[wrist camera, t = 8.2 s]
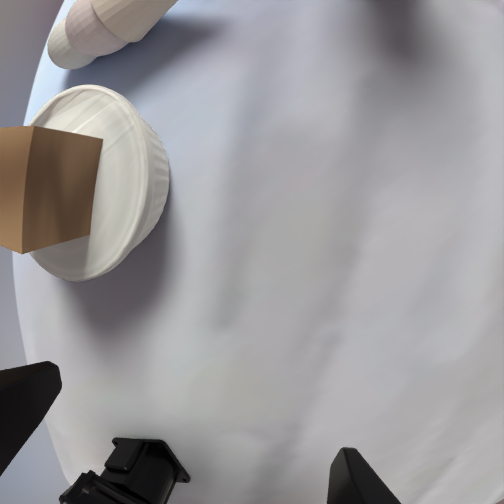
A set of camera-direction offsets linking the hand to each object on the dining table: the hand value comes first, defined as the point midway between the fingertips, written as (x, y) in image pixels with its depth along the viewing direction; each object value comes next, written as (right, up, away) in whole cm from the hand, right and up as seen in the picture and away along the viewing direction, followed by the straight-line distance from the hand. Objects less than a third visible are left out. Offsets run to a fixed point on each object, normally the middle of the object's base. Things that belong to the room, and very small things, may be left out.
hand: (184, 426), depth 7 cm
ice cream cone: (-6, +22, +9) cm, 24 cm away
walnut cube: (-8, +9, +7) cm, 14 cm away
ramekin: (-8, +10, +12) cm, 17 cm away
